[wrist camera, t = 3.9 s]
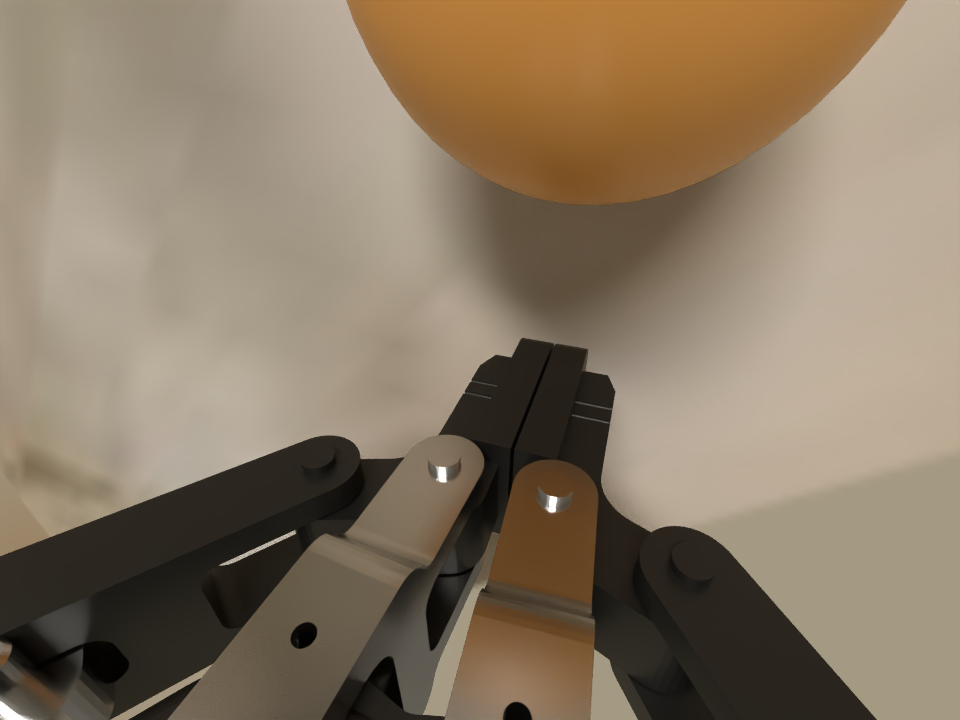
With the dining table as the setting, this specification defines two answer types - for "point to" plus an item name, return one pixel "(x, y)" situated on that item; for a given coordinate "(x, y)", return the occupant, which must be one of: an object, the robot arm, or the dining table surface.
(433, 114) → the ball
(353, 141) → the dining table surface
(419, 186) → the dining table surface
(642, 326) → the dining table surface
